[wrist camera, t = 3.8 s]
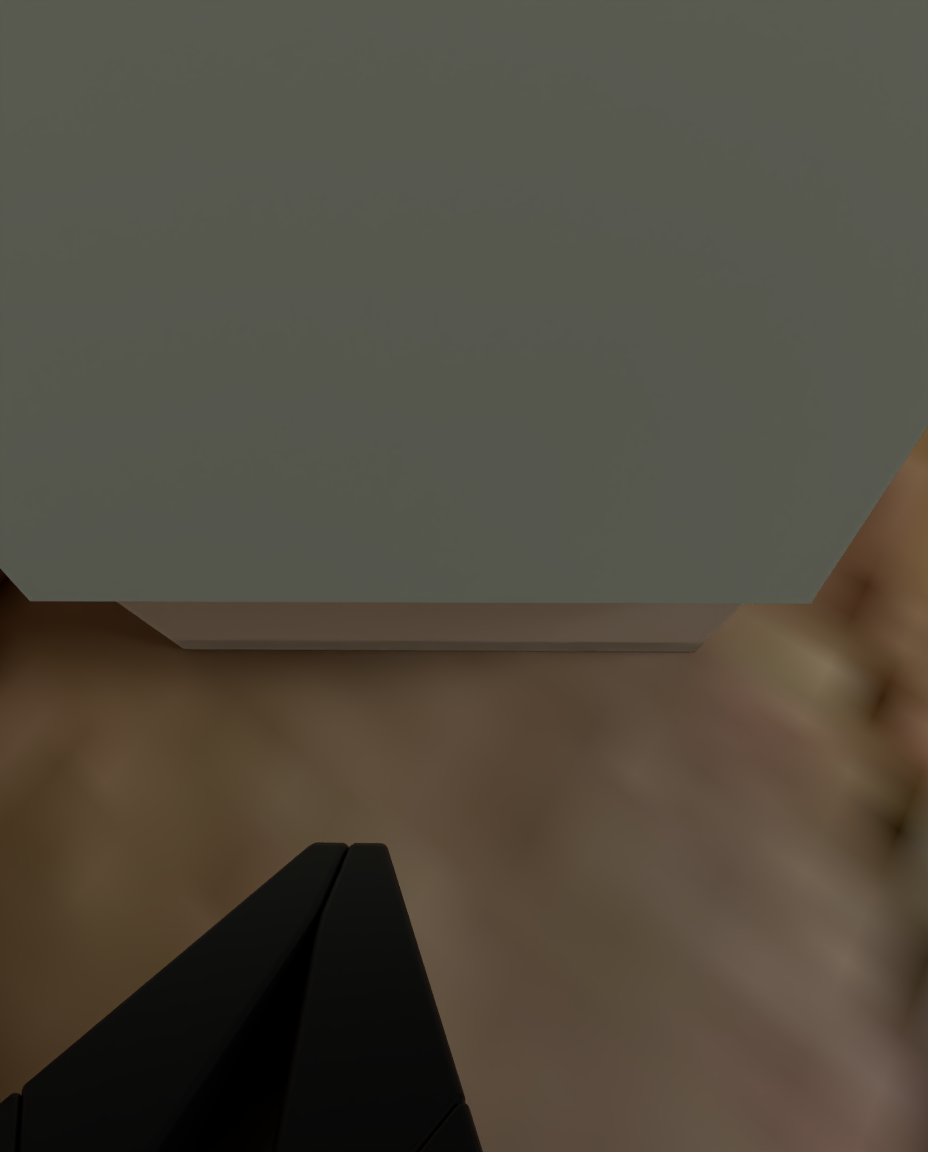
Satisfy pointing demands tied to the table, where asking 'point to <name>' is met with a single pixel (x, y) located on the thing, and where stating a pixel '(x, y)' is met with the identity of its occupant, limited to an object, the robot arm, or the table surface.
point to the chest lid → (456, 296)
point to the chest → (435, 625)
